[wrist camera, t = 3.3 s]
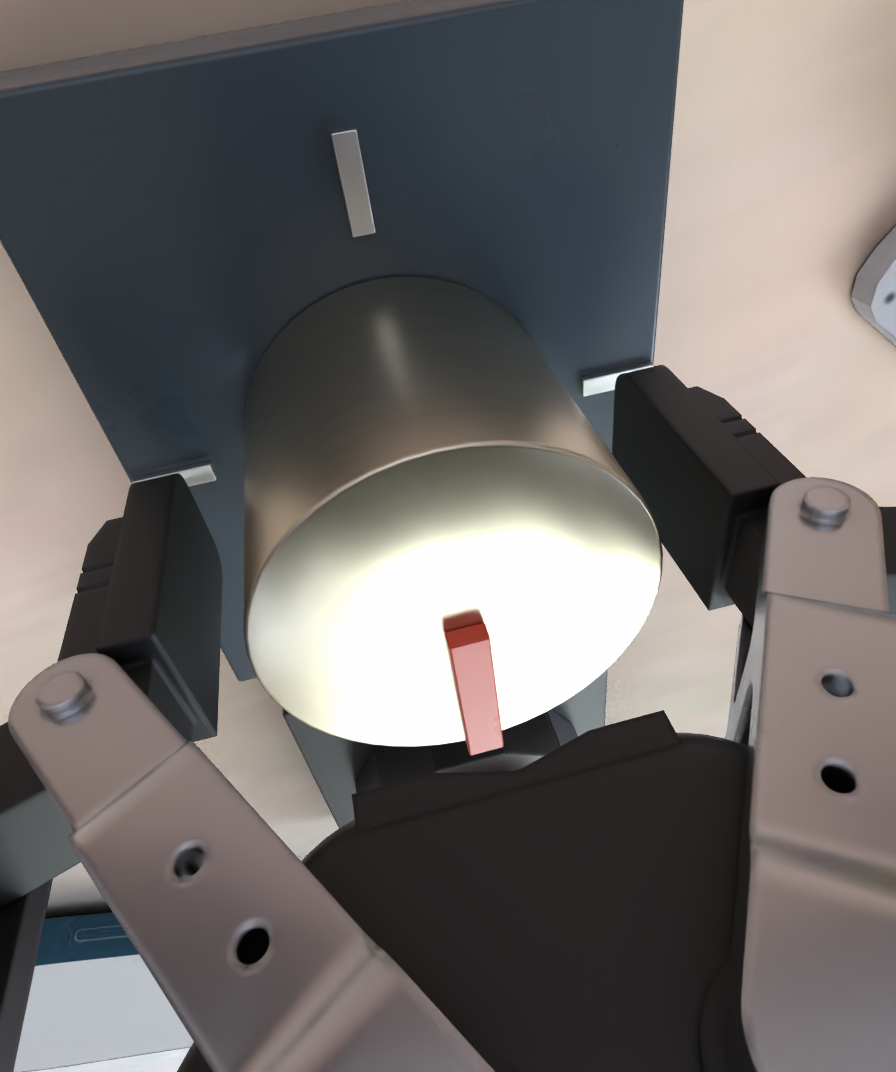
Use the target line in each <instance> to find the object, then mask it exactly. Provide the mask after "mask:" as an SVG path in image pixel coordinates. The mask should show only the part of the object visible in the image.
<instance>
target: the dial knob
mask: <svg viewBox="0 0 896 1072" xmlns="http://www.w3.org/2000/svg"><path fill="white" fill-rule="evenodd" d="M662 557H663V552H662V545H661V539H660V532H659V530H658V527H657V524H656V521H655V519H654V516H653V514H652V512H651V510H650V509H649V507H648V505H647V504H646V502H645V500H644V499H643V497H642V496H641V494H640V493H639V492H638V490H637V489H636V487H635V486H634V484H633V483H632V482H631V480H630V479H629V477H628V476H627V475H626V473H625V472H624V470H623V469H622V468H621V466H620V465H619V463H618V462H617V461H616V459H615V458H614V456H613V455H612V453H611V452H610V451H609V449H608V448H607V446H606V445H605V444H604V442H603V441H602V439H601V438H600V437H599V435H598V434H597V432H596V431H595V429H594V428H593V427H592V425H591V424H590V422H589V421H588V420H587V418H586V417H585V415H584V414H583V413H582V411H581V410H580V408H579V407H578V405H577V404H576V403H575V401H574V400H573V398H572V397H571V396H570V394H569V393H568V391H567V390H566V389H565V387H564V386H563V384H562V383H561V381H560V380H559V379H558V377H557V376H556V374H555V373H554V372H553V370H552V369H551V367H550V366H549V365H548V363H547V362H546V360H545V359H544V358H543V356H542V355H541V353H540V352H539V350H538V349H537V348H536V346H535V345H534V343H533V342H532V341H531V339H530V338H529V336H528V335H527V334H526V332H525V331H524V329H523V328H522V327H521V326H520V325H519V324H518V323H517V321H516V320H515V319H514V318H513V317H512V316H511V315H510V314H509V313H508V312H506V311H505V310H504V309H503V308H502V307H500V306H499V305H498V304H497V303H495V302H493V301H492V300H490V299H489V298H487V297H485V296H484V295H482V294H481V293H478V292H476V291H474V290H471V289H469V288H467V287H464V286H462V285H459V284H455V283H452V282H448V281H444V280H441V279H433V278H425V277H390V278H383V279H376V280H371V281H367V282H364V283H360V284H356V285H353V286H350V287H347V288H345V289H343V290H340V291H338V292H335V293H333V294H331V295H329V296H327V297H325V298H324V299H322V300H320V301H318V302H317V303H315V304H313V305H312V306H310V307H309V308H307V309H306V310H305V311H304V312H302V313H301V314H300V315H298V316H297V317H296V318H295V319H293V320H292V321H291V322H290V323H289V324H288V325H287V326H286V327H285V328H284V329H283V330H282V331H281V333H280V334H279V335H278V336H277V337H276V338H275V340H274V341H273V342H272V344H271V345H270V346H269V348H268V349H267V351H266V352H265V353H264V355H263V357H262V359H261V361H260V363H259V365H258V367H257V369H256V371H255V373H254V376H253V379H252V382H251V384H250V387H249V390H248V396H247V401H246V407H245V456H244V640H245V646H246V652H247V656H248V658H249V661H250V663H251V666H252V669H253V671H254V673H255V675H256V676H257V678H258V680H259V681H260V683H261V684H262V686H263V688H264V689H265V691H266V692H267V693H268V694H269V695H270V696H271V697H272V698H273V699H274V700H275V702H276V703H277V704H278V705H279V706H281V707H282V708H283V709H284V710H286V711H287V712H288V713H290V714H291V715H292V716H293V717H295V718H297V719H298V720H300V721H302V722H304V723H305V724H307V725H309V726H311V727H313V728H315V729H318V730H320V731H322V732H325V733H327V734H329V735H333V736H336V737H340V738H343V739H346V740H350V741H355V742H361V743H366V744H372V745H383V746H404V747H416V746H429V745H440V744H447V743H453V742H460V741H464V740H465V741H466V745H467V748H468V752H469V754H470V755H475V754H479V753H483V752H486V751H490V750H494V749H498V748H501V747H503V746H504V743H503V735H502V730H505V729H508V728H510V727H513V726H515V725H518V724H521V723H523V722H526V721H528V720H530V719H532V718H534V717H536V716H538V715H541V714H543V713H545V712H547V711H549V710H550V709H552V708H554V707H556V706H557V705H559V704H561V703H563V702H565V701H566V700H568V699H569V698H571V697H572V696H574V695H575V694H577V693H578V692H580V691H581V690H583V689H584V688H585V687H587V686H588V685H589V684H590V683H592V682H593V681H594V680H595V679H597V678H598V677H599V676H600V675H602V674H603V673H604V672H605V671H606V670H607V669H608V668H609V667H610V666H611V665H612V664H613V663H614V662H615V661H616V660H617V659H618V658H619V657H620V656H621V654H622V653H623V652H624V651H625V650H626V649H627V648H628V646H629V645H630V644H631V643H632V641H633V640H634V638H635V637H636V635H637V634H638V632H639V631H640V630H641V628H642V627H643V625H644V623H645V621H646V619H647V617H648V615H649V613H650V611H651V610H652V607H653V604H654V601H655V599H656V596H657V593H658V590H659V585H660V580H661V575H662Z"/></svg>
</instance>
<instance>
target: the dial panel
mask: <svg viewBox="0 0 896 1072" xmlns="http://www.w3.org/2000/svg"><path fill="white" fill-rule="evenodd" d="M683 2H684V0H407V1H401V2H395V3H390V4H384V5H378V6H373V7H367V8H361V9H356V10H350V11H344V12H338V13H333V14H327V15H321V16H316V17H310V18H304V19H299V20H293V21H287V22H282V23H276V24H270V25H265V26H259V27H253V28H248V29H242V30H236V31H231V32H225V33H219V34H213V35H208V36H202V37H196V38H191V39H185V40H179V41H174V42H168V43H162V44H157V45H151V46H145V47H140V48H134V49H128V50H123V51H117V52H111V53H105V54H100V55H94V56H88V57H83V58H77V59H71V60H66V61H60V62H54V63H49V64H43V65H37V66H32V67H26V68H20V69H15V70H9V71H3V72H0V241H1V242H2V244H3V246H4V248H5V250H6V252H7V254H8V255H9V257H10V259H11V261H12V263H13V265H14V266H15V268H16V270H17V272H18V274H19V276H20V278H21V279H22V281H23V283H24V285H25V287H26V289H27V290H28V292H29V294H30V296H31V298H32V300H33V302H34V303H35V305H36V307H37V309H38V311H39V313H40V315H41V316H42V318H43V320H44V322H45V324H46V326H47V327H48V329H49V331H50V333H51V335H52V337H53V339H54V340H55V342H56V344H57V346H58V348H59V350H60V352H61V353H62V355H63V357H64V359H65V361H66V363H67V364H68V366H69V368H70V370H71V372H72V374H73V376H74V377H75V379H76V381H77V383H78V385H79V387H80V388H81V390H82V392H83V394H84V396H85V398H86V400H87V401H88V403H89V405H90V407H91V409H92V411H93V413H94V414H95V416H96V418H97V420H98V422H99V424H100V425H101V427H102V429H103V431H104V433H105V435H106V437H107V438H108V440H109V442H110V444H111V446H112V448H113V450H114V451H115V453H116V455H117V457H118V459H119V461H120V462H121V464H122V466H123V468H124V470H125V472H126V474H127V475H128V477H129V479H130V481H131V483H132V484H133V483H137V482H141V481H146V480H150V479H154V478H159V477H163V476H168V475H172V474H177V473H179V474H180V475H181V476H182V477H183V478H184V479H185V481H186V483H187V485H188V487H189V489H190V491H191V493H192V495H193V497H194V499H195V502H196V504H197V506H198V508H199V510H200V512H201V514H202V516H203V518H204V521H205V523H206V525H207V527H208V529H209V531H210V533H211V535H212V537H213V540H214V542H215V544H216V547H217V550H218V553H219V557H220V561H221V566H222V574H223V583H222V611H221V638H220V647H221V649H222V651H223V653H224V655H225V657H226V658H227V660H228V662H229V664H230V666H231V668H232V670H233V671H234V673H235V675H236V677H237V679H238V680H239V681H245V680H249V679H253V678H257V676H256V675H255V673H254V671H253V669H252V666H251V663H250V661H249V658H248V656H247V652H246V646H245V640H244V456H245V407H246V401H247V396H248V390H249V387H250V384H251V382H252V379H253V376H254V373H255V371H256V369H257V367H258V365H259V363H260V361H261V359H262V357H263V355H264V353H265V352H266V351H267V349H268V348H269V346H270V345H271V344H272V342H273V341H274V340H275V338H276V337H277V336H278V335H279V334H280V333H281V331H282V330H283V329H284V328H285V327H286V326H287V325H288V324H289V323H290V322H291V321H292V320H293V319H295V318H296V317H297V316H298V315H300V314H301V313H302V312H304V311H305V310H306V309H307V308H309V307H310V306H312V305H313V304H315V303H317V302H318V301H320V300H322V299H324V298H325V297H327V296H329V295H331V294H333V293H335V292H338V291H340V290H343V289H345V288H347V287H350V286H353V285H356V284H360V283H364V282H367V281H371V280H376V279H383V278H390V277H425V278H433V279H441V280H444V281H448V282H452V283H455V284H459V285H462V286H464V287H467V288H469V289H471V290H474V291H476V292H478V293H481V294H482V295H484V296H485V297H487V298H489V299H490V300H492V301H493V302H495V303H497V304H498V305H499V306H500V307H502V308H503V309H504V310H505V311H506V312H508V313H509V314H510V315H511V316H512V317H513V318H514V319H515V320H516V321H517V323H518V324H519V325H520V326H521V327H522V328H523V329H524V331H525V332H526V334H527V335H528V336H529V338H530V339H531V341H532V342H533V343H534V345H535V346H536V348H537V349H538V350H539V352H540V353H541V355H542V356H543V358H544V359H545V360H546V362H547V363H548V365H549V366H550V367H551V369H552V370H553V372H554V373H555V374H556V376H557V377H558V379H559V380H560V381H561V383H562V384H563V386H564V387H565V389H566V390H567V391H568V393H569V394H570V396H571V397H572V398H573V400H574V401H575V403H576V404H577V405H578V407H579V408H580V410H581V411H582V413H583V414H584V415H585V417H586V418H587V420H588V421H589V422H590V424H591V425H592V427H593V428H594V429H595V431H596V432H597V434H598V435H599V437H600V438H601V439H602V441H603V442H604V444H605V445H606V446H607V448H608V449H609V451H610V452H611V453H612V437H613V414H614V391H615V382H616V379H617V377H618V376H619V375H620V374H623V373H628V372H632V371H636V370H641V369H645V368H650V367H654V364H653V361H654V349H655V337H656V325H657V313H658V301H659V289H660V277H661V265H662V253H663V241H664V229H665V217H666V205H667V193H668V181H669V169H670V157H671V146H672V134H673V122H674V110H675V98H676V86H677V74H678V62H679V50H680V38H681V26H682V14H683Z"/></svg>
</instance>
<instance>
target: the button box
mask: <svg viewBox="0 0 896 1072" xmlns="http://www.w3.org/2000/svg"><path fill="white" fill-rule="evenodd" d="M606 687H607V670H606V671H605V672H604V673H603V674H602V675H600V676H599V677H598V678H597V679H595V680H594V681H593V682H592V683H590V684H589V685H588V686H587V687H585V688H584V689H583V690H581V691H580V692H578V693H577V694H575V695H574V696H572V697H571V698H569V699H568V700H566V701H565V702H563V703H561V704H559V705H557V706H556V707H554V708H552V709H550V710H549V711H547V712H545V713H543V714H541V715H538V716H536V717H534V718H532V719H530V720H528V721H526V722H523V723H521V724H518V725H515V726H513V727H510V728H508V729H505V730H502V735H503V743H504V746H503V747H501V748H498V749H494V750H490V751H486V752H483V753H479V754H475V755H470V754H469V752H468V748H467V745H466V741H465V740H464V741H460V742H453V743H447V744H440V745H429V746H416V747H404V746H383V745H372V744H366V743H361V742H355V741H350V740H346V739H343V738H340V737H336V736H333V735H329V734H327V733H325V732H322V731H320V730H318V729H315V728H313V727H311V726H309V725H307V724H305V723H304V722H302V721H300V720H298V719H297V718H295V717H293V716H292V715H291V714H290V713H288V712H287V711H286V710H284V709H283V716H284V718H285V720H286V722H287V724H288V726H289V728H290V730H291V732H292V734H293V736H294V738H295V740H296V742H297V744H298V746H299V748H300V750H301V752H302V754H303V756H304V758H305V760H306V763H307V765H308V767H309V769H310V771H311V773H312V775H313V777H314V779H315V781H316V783H317V785H318V787H319V789H320V791H321V793H322V795H323V797H324V799H325V801H326V803H327V805H328V807H329V809H330V811H331V813H332V815H333V817H334V819H335V821H336V823H337V825H338V827H339V828H341V827H342V826H344V825H346V824H347V823H349V822H351V821H352V820H354V819H355V818H354V810H353V802H352V794H355V793H359V792H362V791H366V790H370V789H373V788H377V787H381V786H385V785H388V784H392V783H396V782H399V781H403V780H407V779H411V778H414V777H418V776H422V775H425V774H429V773H458V772H501V771H515V770H518V769H521V768H523V767H525V766H527V765H529V764H530V763H532V762H534V761H536V760H538V759H539V758H541V757H543V756H545V755H546V754H548V753H550V752H552V751H553V750H555V749H557V748H559V747H561V746H562V745H564V744H566V743H568V742H569V741H571V740H573V739H575V738H577V737H578V736H580V735H582V734H584V733H585V732H587V731H589V730H592V729H596V728H600V727H603V726H605V706H606Z"/></svg>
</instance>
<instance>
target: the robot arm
mask: <svg viewBox="0 0 896 1072" xmlns="http://www.w3.org/2000/svg"><path fill="white" fill-rule="evenodd" d="M741 416H742V415H741V414H740V413H739V412H738V411H736V410H735V409H734V408H733V407H732V406H731V405H730V404H729V403H728V402H727V401H726V400H725V399H724V398H722V397H720V396H717V395H715V394H713V393H711V392H709V391H706V390H704V389H702V388H700V387H697V386H696V387H692V388H687V387H686V386H685V385H684V384H683V383H682V382H681V381H680V380H679V379H678V378H677V377H676V376H675V375H674V374H673V373H672V372H671V371H670V370H669V369H668V368H667V367H666V366H664V365H658V366H654V367H650V368H645V369H641V370H636V371H632V372H628V373H623V374H620V375H619V376H618V377H617V379H616V382H615V391H614V414H613V437H612V455H613V456H614V458H615V459H616V461H617V462H618V463H619V465H620V466H621V468H622V469H623V470H624V472H625V473H626V475H627V476H628V477H629V479H630V480H631V482H632V483H633V484H634V486H635V487H636V489H637V490H638V492H639V493H640V494H641V496H642V497H643V499H644V500H645V502H646V504H647V505H648V507H649V509H650V510H651V512H652V514H653V516H654V519H655V521H656V524H657V527H658V530H659V532H660V539H661V542H662V544H663V545H664V547H665V548H666V549H667V551H668V552H669V554H670V555H671V557H672V558H673V560H674V561H675V562H676V564H677V565H678V567H679V568H680V570H681V571H682V573H683V574H684V575H685V577H686V578H687V580H688V581H689V583H690V584H691V586H692V587H693V588H694V590H695V591H696V593H697V594H698V596H699V597H700V599H701V600H702V601H703V603H704V604H705V606H706V607H707V609H708V610H713V609H717V608H721V607H725V606H729V605H733V604H735V605H736V606H737V607H738V609H739V610H740V611H741V613H742V617H741V621H740V625H739V630H738V639H737V648H736V657H735V666H734V675H733V684H732V693H731V702H730V711H729V719H728V726H727V732H726V737H725V739H724V738H719V737H714V736H709V735H703V734H692V733H676V732H675V730H674V728H673V727H672V725H671V723H670V721H669V719H668V717H667V716H666V714H665V712H664V710H663V711H659V712H655V713H652V714H648V715H644V716H641V717H637V718H633V719H629V720H626V721H622V722H618V723H615V724H611V725H607V726H603V727H600V728H596V729H592V730H589V731H587V732H585V733H584V734H582V735H580V736H578V737H577V738H575V739H573V740H571V741H569V742H568V743H566V744H564V745H562V746H561V747H559V748H557V749H555V750H553V751H552V752H550V753H548V754H546V755H545V756H543V757H541V758H539V759H538V760H536V761H534V762H532V763H530V764H529V765H527V766H525V767H523V768H521V769H518V770H515V771H501V772H458V773H429V774H425V775H422V776H418V777H414V778H411V779H407V780H403V781H399V782H396V783H392V784H388V785H385V786H381V787H377V788H373V789H370V790H366V791H362V792H359V793H355V794H352V802H353V810H354V818H355V819H354V820H352V821H351V822H349V823H347V824H346V825H344V826H342V827H341V828H339V829H338V830H337V831H335V832H334V833H332V834H331V835H330V836H328V837H327V838H325V839H324V840H323V841H322V842H321V843H320V844H319V845H318V846H316V847H315V848H314V849H313V850H312V851H311V852H310V853H309V854H308V855H307V856H306V857H305V858H304V859H303V860H302V861H300V860H299V859H298V858H297V856H296V855H295V854H294V853H293V852H292V851H291V850H290V849H289V848H288V846H287V845H286V844H285V843H284V842H283V841H282V840H281V839H280V838H279V836H278V835H277V834H276V833H275V832H274V831H273V830H272V829H271V828H270V826H269V825H268V824H267V823H266V822H265V821H264V820H263V819H262V818H261V816H260V815H259V814H258V813H257V812H256V811H255V810H254V809H253V808H252V806H251V805H250V804H249V803H248V802H247V801H246V800H245V799H244V798H243V796H242V795H241V794H240V793H239V792H238V791H237V790H236V789H235V788H234V786H233V785H232V784H231V783H230V782H229V781H228V780H227V779H226V778H225V776H224V775H223V774H222V773H221V772H220V771H219V770H218V769H217V768H216V766H215V765H214V764H213V763H212V762H211V761H210V760H209V759H208V758H207V756H206V755H205V754H204V753H203V752H202V751H201V750H200V749H199V748H198V747H197V746H196V745H195V744H194V743H193V742H195V741H199V740H203V739H207V738H211V737H215V736H217V721H218V694H219V666H220V638H221V611H222V583H223V574H222V566H221V561H220V557H219V553H218V550H217V547H216V544H215V542H214V540H213V537H212V535H211V533H210V531H209V529H208V527H207V525H206V523H205V521H204V518H203V516H202V514H201V512H200V510H199V508H198V506H197V504H196V502H195V499H194V497H193V495H192V493H191V491H190V489H189V487H188V485H187V483H186V481H185V479H184V478H183V477H182V476H181V475H180V474H179V473H177V474H172V475H168V476H163V477H159V478H154V479H150V480H146V481H141V482H137V483H133V484H131V486H130V488H129V492H128V497H127V502H126V506H125V511H124V516H123V517H122V518H117V519H113V520H109V521H106V522H105V524H104V525H103V526H102V528H101V529H100V530H99V531H98V533H97V534H96V535H95V537H94V538H93V539H92V541H91V542H90V543H89V544H88V547H87V551H86V555H85V559H84V562H83V566H82V571H83V573H82V574H80V578H79V582H78V585H77V591H78V593H76V594H75V597H74V601H73V605H72V608H71V612H70V616H69V620H68V624H67V627H66V631H65V635H64V639H63V643H62V647H61V650H60V654H59V658H58V662H57V663H55V664H53V665H51V666H50V667H48V668H46V669H45V670H43V671H42V672H41V673H39V674H38V675H36V676H35V677H34V678H33V679H32V680H31V681H30V682H29V683H28V684H27V685H26V686H25V687H24V688H23V689H22V690H21V692H20V693H19V695H18V696H17V697H16V699H15V701H14V703H13V705H12V707H11V710H10V713H9V718H8V722H7V723H5V724H3V725H1V726H0V1072H13V1071H14V1066H15V1061H16V1056H17V1051H18V1047H19V1042H20V1037H21V1032H22V1027H23V1022H24V1017H25V1012H26V1007H27V1003H28V998H29V993H30V988H31V983H32V978H33V973H34V968H35V963H36V959H37V954H38V949H39V944H40V939H41V934H42V929H43V924H44V919H45V915H46V910H47V905H48V900H49V895H50V890H51V885H52V880H53V878H54V877H56V876H58V875H60V874H61V873H63V872H65V871H66V870H68V869H70V868H72V867H73V866H75V865H77V864H78V863H80V862H81V863H82V864H83V866H84V867H85V869H86V871H87V872H88V874H89V875H90V877H91V879H92V880H93V882H94V883H95V885H96V886H97V888H98V890H99V891H100V893H101V894H102V896H103V898H104V899H105V901H106V902H107V904H108V906H109V907H110V909H111V910H112V912H113V914H114V915H115V917H116V918H117V920H118V922H119V923H120V925H121V926H122V928H123V930H124V931H125V933H126V934H127V936H128V937H129V939H130V941H131V942H132V944H133V945H134V947H135V949H136V950H137V952H138V953H139V955H140V957H141V958H142V960H143V961H144V963H145V965H146V966H147V968H148V969H149V971H150V973H151V974H152V976H153V977H154V979H155V981H156V982H157V984H158V985H159V987H160V989H161V990H162V992H163V993H164V995H165V996H166V998H167V1000H168V1001H169V1003H170V1004H171V1006H172V1008H173V1009H174V1011H175V1012H176V1014H177V1016H178V1017H179V1019H180V1020H181V1022H182V1024H183V1025H184V1027H185V1028H186V1030H187V1032H188V1033H189V1035H190V1036H191V1038H192V1040H193V1041H194V1042H193V1044H192V1046H191V1048H190V1049H189V1051H188V1053H187V1055H186V1057H185V1058H184V1060H183V1062H182V1064H181V1065H180V1067H179V1069H178V1071H177V1072H896V507H878V505H877V503H876V502H875V501H874V500H873V499H872V498H871V497H870V496H869V495H868V494H866V493H865V492H863V491H862V490H860V489H858V488H856V487H854V486H852V485H850V484H847V483H844V482H841V481H837V480H833V479H827V478H817V477H809V478H806V477H805V476H804V475H803V474H802V473H801V472H800V471H799V470H798V469H797V468H796V467H795V466H794V465H793V464H792V463H791V462H790V461H789V460H788V459H787V458H786V457H785V456H783V455H782V454H781V453H780V452H779V451H778V450H777V449H776V448H775V447H774V446H773V445H772V444H771V443H770V442H769V441H768V440H767V439H766V438H765V437H764V436H763V435H762V434H761V433H756V429H755V428H754V427H753V426H752V425H751V424H750V423H749V422H748V421H747V420H746V419H742V417H741Z"/></svg>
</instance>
